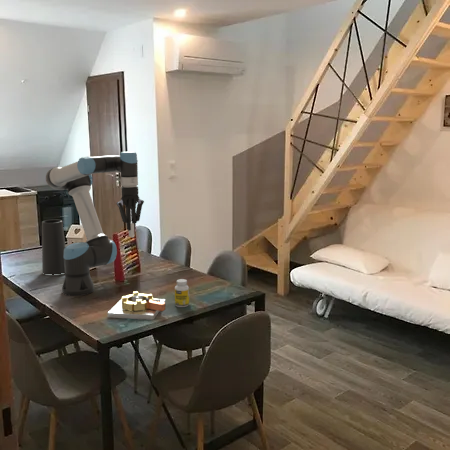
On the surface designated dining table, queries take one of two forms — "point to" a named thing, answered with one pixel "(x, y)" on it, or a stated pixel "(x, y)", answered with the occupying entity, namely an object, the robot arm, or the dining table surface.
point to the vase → (53, 247)
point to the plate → (140, 314)
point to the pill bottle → (181, 293)
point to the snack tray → (141, 303)
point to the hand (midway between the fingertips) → (131, 236)
